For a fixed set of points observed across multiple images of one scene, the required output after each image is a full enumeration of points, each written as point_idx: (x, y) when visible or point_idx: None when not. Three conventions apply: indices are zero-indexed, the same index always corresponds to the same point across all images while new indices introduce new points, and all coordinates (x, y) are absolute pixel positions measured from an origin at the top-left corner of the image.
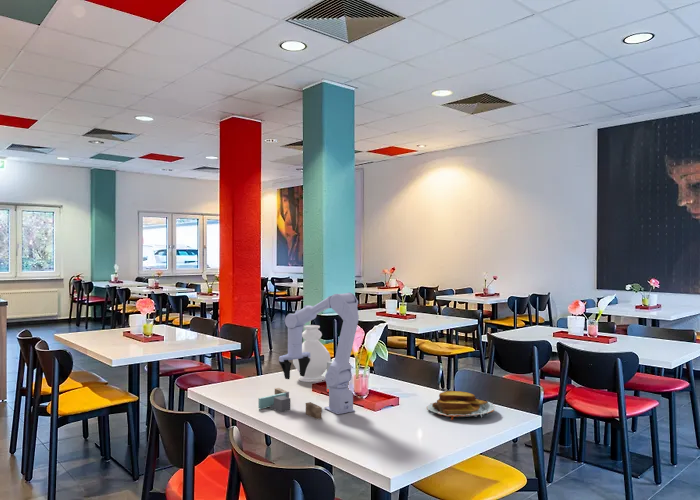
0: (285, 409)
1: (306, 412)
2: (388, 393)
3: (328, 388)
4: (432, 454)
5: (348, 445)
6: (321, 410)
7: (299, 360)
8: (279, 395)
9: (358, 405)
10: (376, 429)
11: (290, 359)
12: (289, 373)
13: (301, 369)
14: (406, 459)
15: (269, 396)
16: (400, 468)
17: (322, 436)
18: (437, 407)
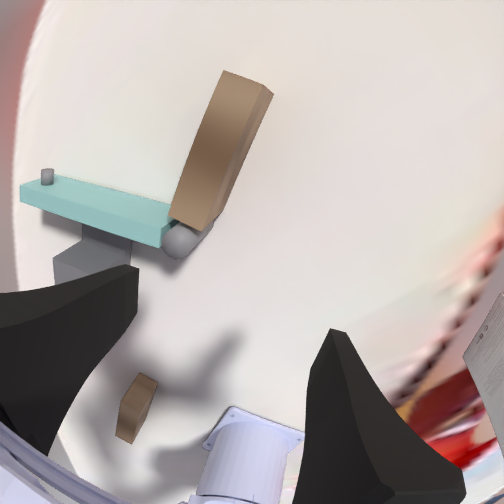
0: None
1: (136, 379)
2: (497, 445)
3: (501, 320)
4: None
5: (92, 461)
6: (135, 436)
7: (350, 480)
8: (116, 231)
9: None
10: (180, 492)
11: (42, 467)
12: (100, 353)
13: (325, 398)
14: (122, 499)
15: (59, 209)
16: None
17: (79, 432)
18: None
